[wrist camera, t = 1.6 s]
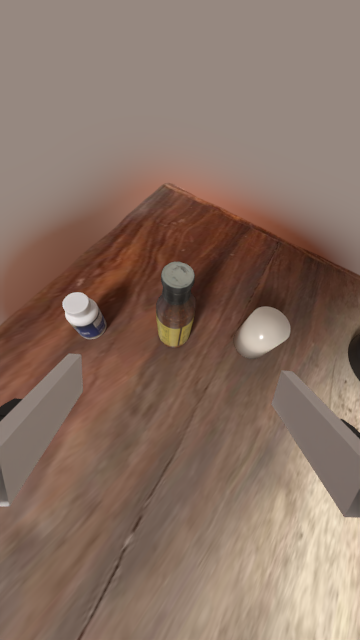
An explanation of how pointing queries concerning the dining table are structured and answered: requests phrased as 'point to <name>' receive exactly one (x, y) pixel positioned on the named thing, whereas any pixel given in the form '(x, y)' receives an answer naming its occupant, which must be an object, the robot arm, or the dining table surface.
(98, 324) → the pill bottle
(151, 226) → the dining table surface
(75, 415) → the dining table surface
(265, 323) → the white rounded cylinder
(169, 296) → the sauce bottle
